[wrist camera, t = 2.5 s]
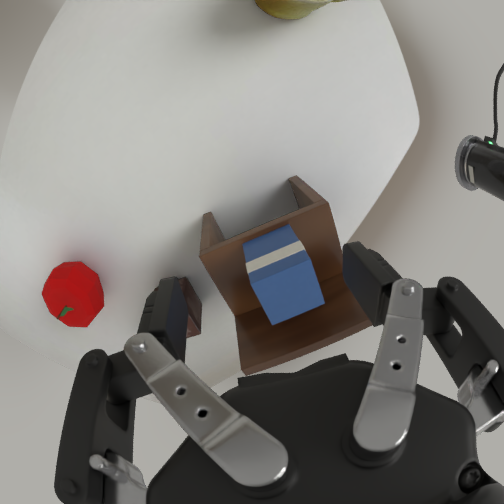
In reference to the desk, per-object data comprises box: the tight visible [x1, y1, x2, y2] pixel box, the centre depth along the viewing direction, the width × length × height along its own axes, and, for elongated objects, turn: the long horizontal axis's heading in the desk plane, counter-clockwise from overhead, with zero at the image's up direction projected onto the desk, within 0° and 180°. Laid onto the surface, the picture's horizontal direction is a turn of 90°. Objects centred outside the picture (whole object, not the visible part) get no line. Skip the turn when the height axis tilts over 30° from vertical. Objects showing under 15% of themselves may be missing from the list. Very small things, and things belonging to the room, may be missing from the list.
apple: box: [42, 262, 104, 327], centre depth 36 cm, size 11×11×10 cm
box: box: [154, 277, 202, 338], centre depth 41 cm, size 6×6×7 cm
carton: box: [242, 224, 325, 325], centre depth 25 cm, size 5×5×7 cm
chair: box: [199, 175, 372, 376], centre depth 31 cm, size 10×14×20 cm
